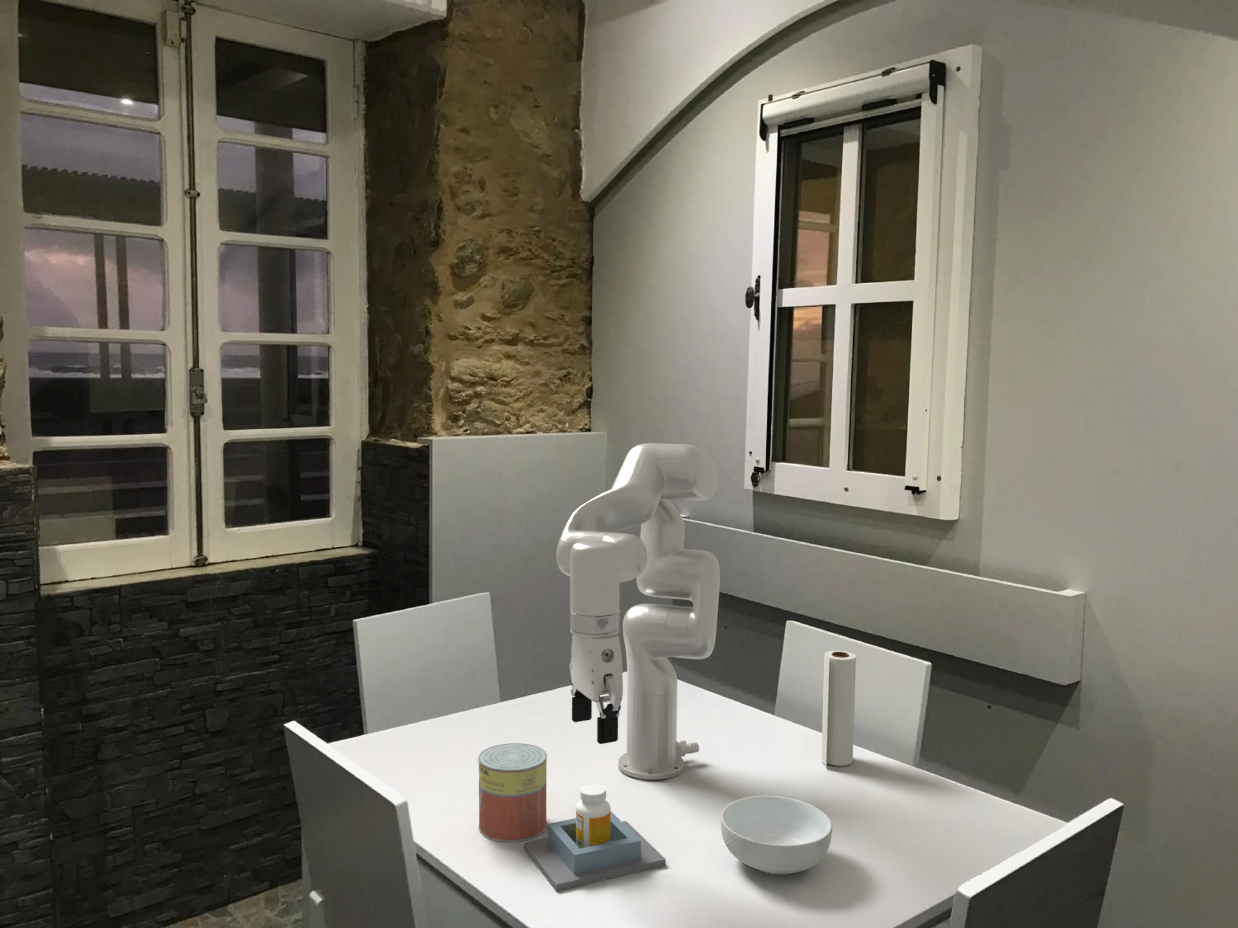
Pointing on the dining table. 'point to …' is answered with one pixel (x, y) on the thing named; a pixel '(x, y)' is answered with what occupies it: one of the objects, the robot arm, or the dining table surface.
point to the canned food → (512, 792)
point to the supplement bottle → (593, 817)
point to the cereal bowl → (776, 833)
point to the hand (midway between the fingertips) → (594, 730)
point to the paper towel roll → (838, 708)
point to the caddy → (591, 855)
